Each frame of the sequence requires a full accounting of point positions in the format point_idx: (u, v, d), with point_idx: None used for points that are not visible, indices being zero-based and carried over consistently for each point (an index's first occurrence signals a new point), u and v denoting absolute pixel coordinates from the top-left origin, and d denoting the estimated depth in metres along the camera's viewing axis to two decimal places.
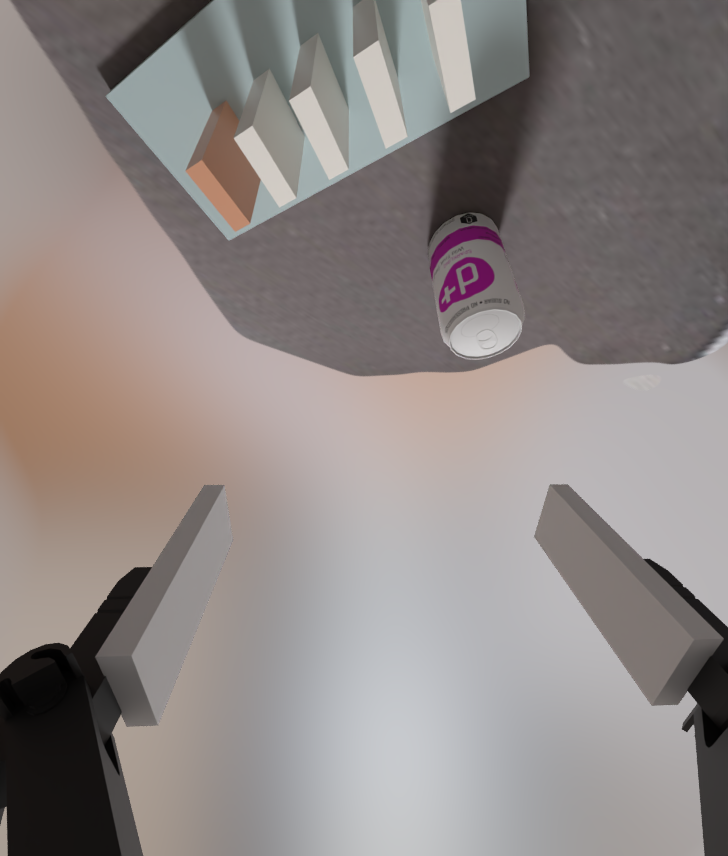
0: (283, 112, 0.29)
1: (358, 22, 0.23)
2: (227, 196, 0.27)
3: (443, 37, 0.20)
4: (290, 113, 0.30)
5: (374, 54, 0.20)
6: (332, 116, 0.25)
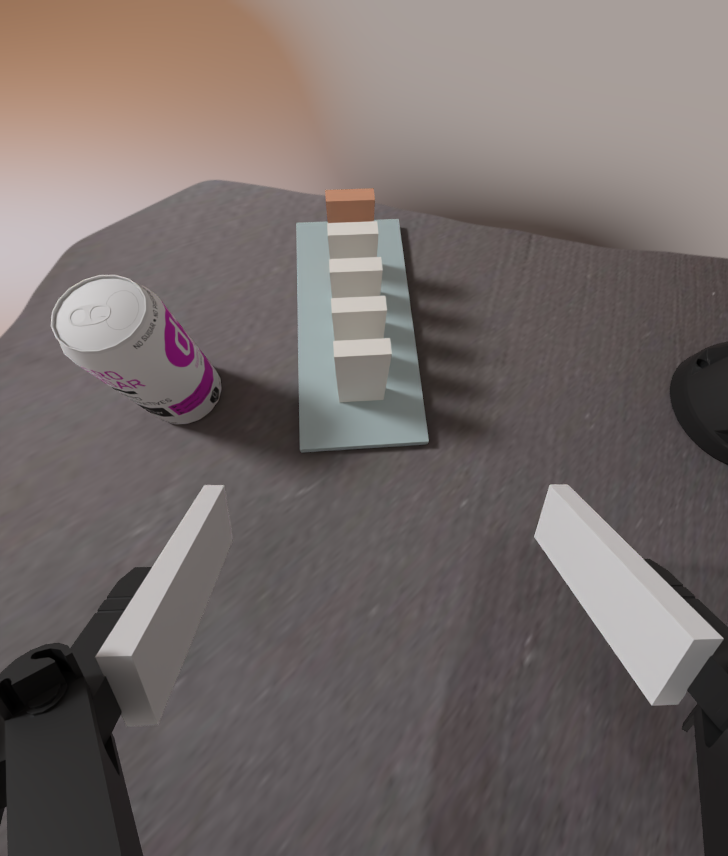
0: None
1: None
2: (349, 199, 0.36)
3: (373, 342, 0.31)
4: None
5: (381, 306, 0.32)
6: (355, 288, 0.36)
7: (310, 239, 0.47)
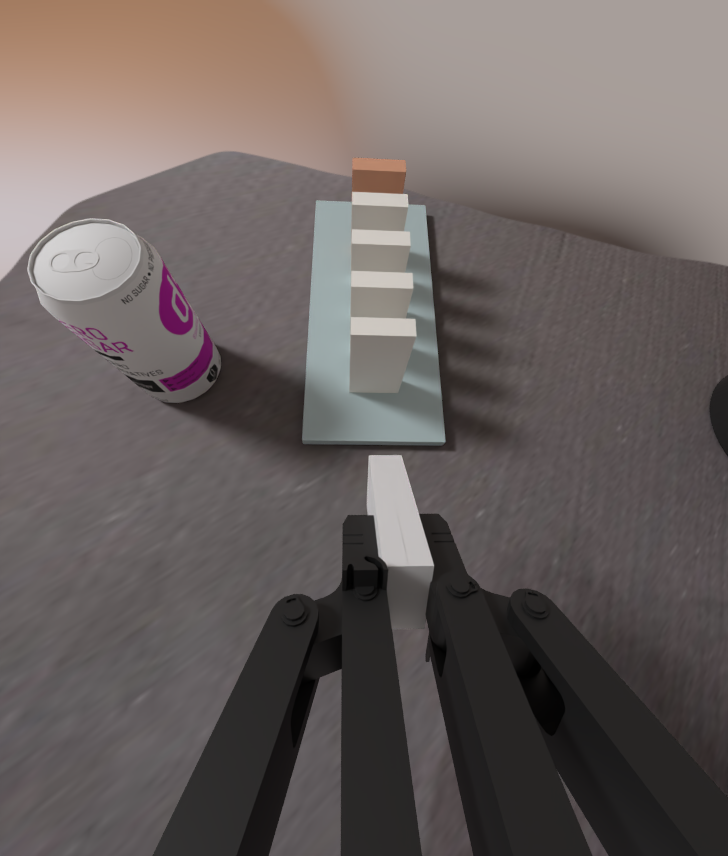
0: None
1: None
2: (378, 169, 0.33)
3: (396, 322, 0.27)
4: None
5: (407, 284, 0.29)
6: (378, 266, 0.32)
7: (330, 218, 0.44)
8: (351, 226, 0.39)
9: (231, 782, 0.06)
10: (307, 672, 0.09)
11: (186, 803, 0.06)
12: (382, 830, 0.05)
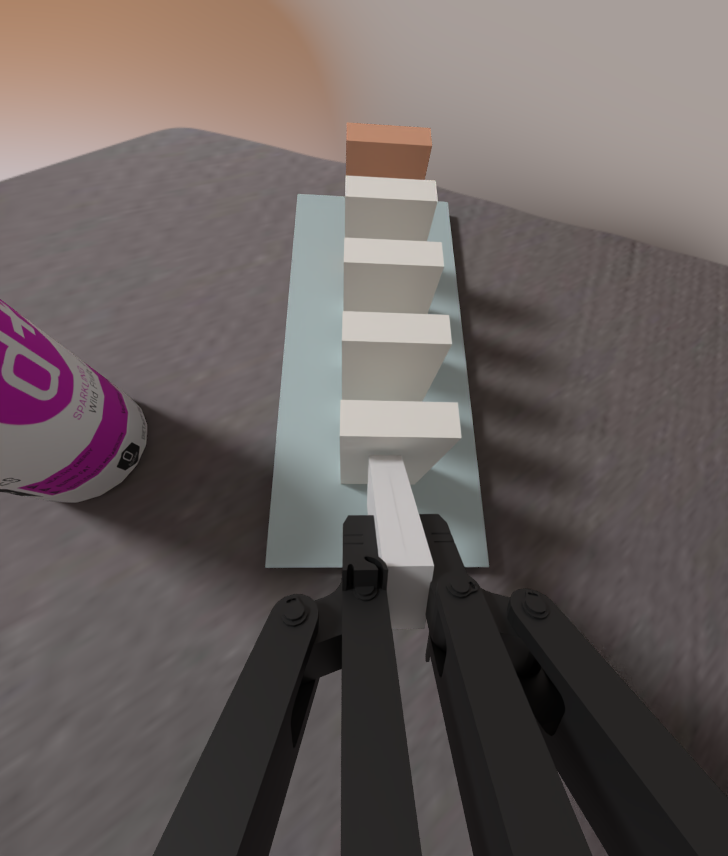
0: None
1: None
2: (387, 141, 0.21)
3: (424, 410, 0.15)
4: None
5: (441, 335, 0.16)
6: (387, 297, 0.20)
7: (316, 218, 0.32)
8: None
9: (231, 782, 0.06)
10: (307, 672, 0.09)
11: (186, 803, 0.06)
12: (382, 830, 0.05)
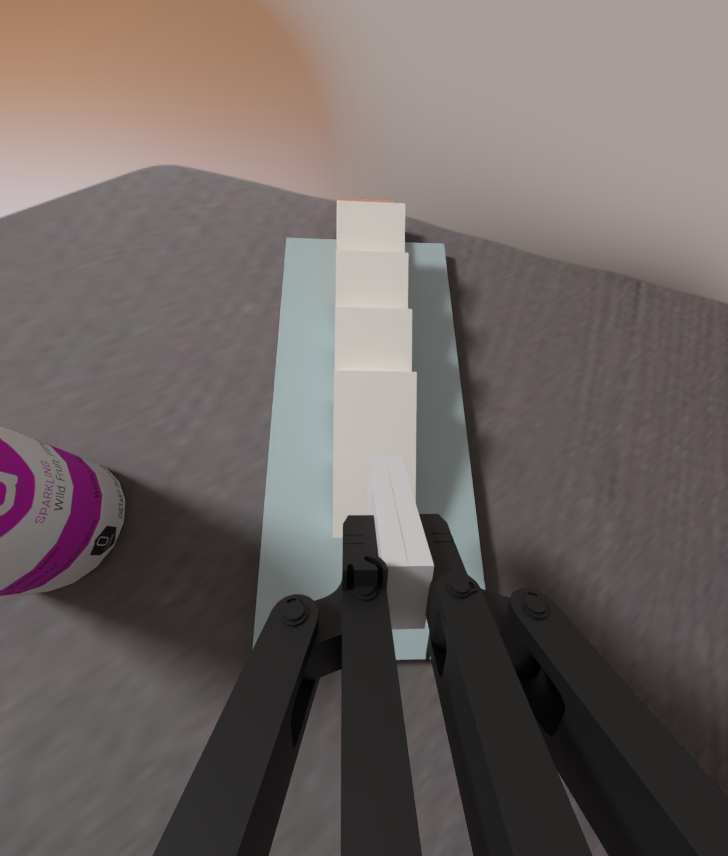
0: None
1: None
2: (365, 200, 0.31)
3: None
4: None
5: None
6: (371, 285, 0.24)
7: (306, 265, 0.30)
8: None
9: (231, 782, 0.06)
10: (307, 672, 0.09)
11: (186, 803, 0.06)
12: (382, 831, 0.05)
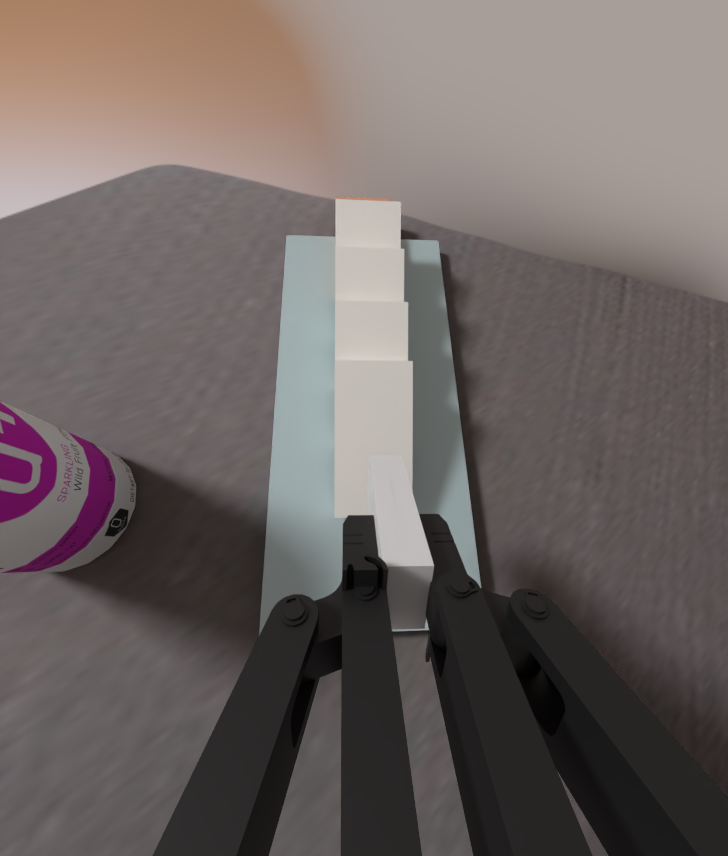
0: None
1: None
2: (362, 199, 0.32)
3: None
4: None
5: None
6: (369, 280, 0.26)
7: (306, 261, 0.31)
8: None
9: (231, 782, 0.06)
10: (307, 672, 0.09)
11: (186, 803, 0.06)
12: (382, 831, 0.05)
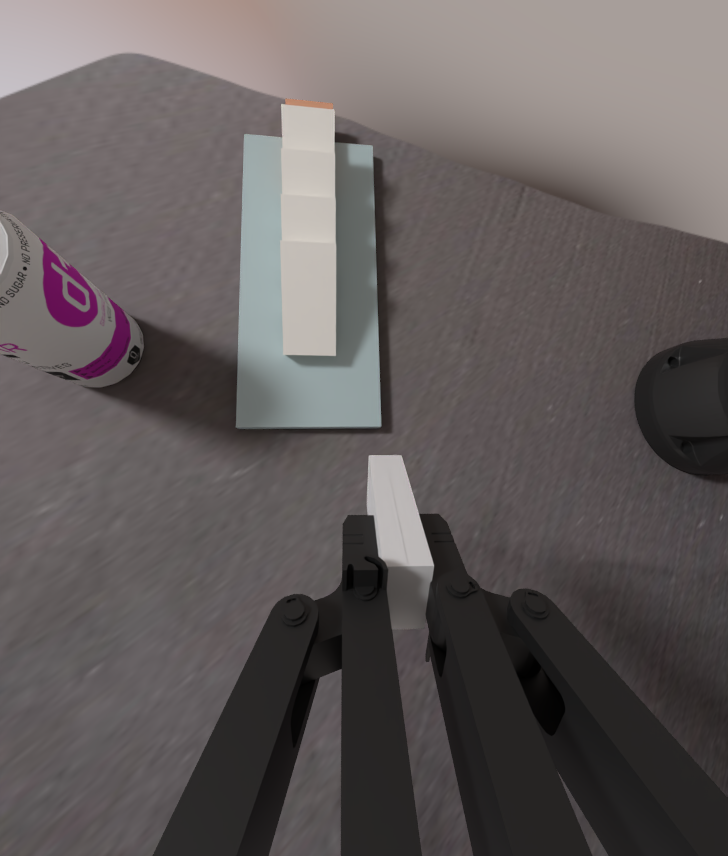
0: None
1: None
2: (308, 102, 0.38)
3: None
4: None
5: None
6: (308, 178, 0.34)
7: (261, 159, 0.38)
8: None
9: (231, 782, 0.06)
10: (307, 672, 0.09)
11: (186, 803, 0.06)
12: (382, 831, 0.05)
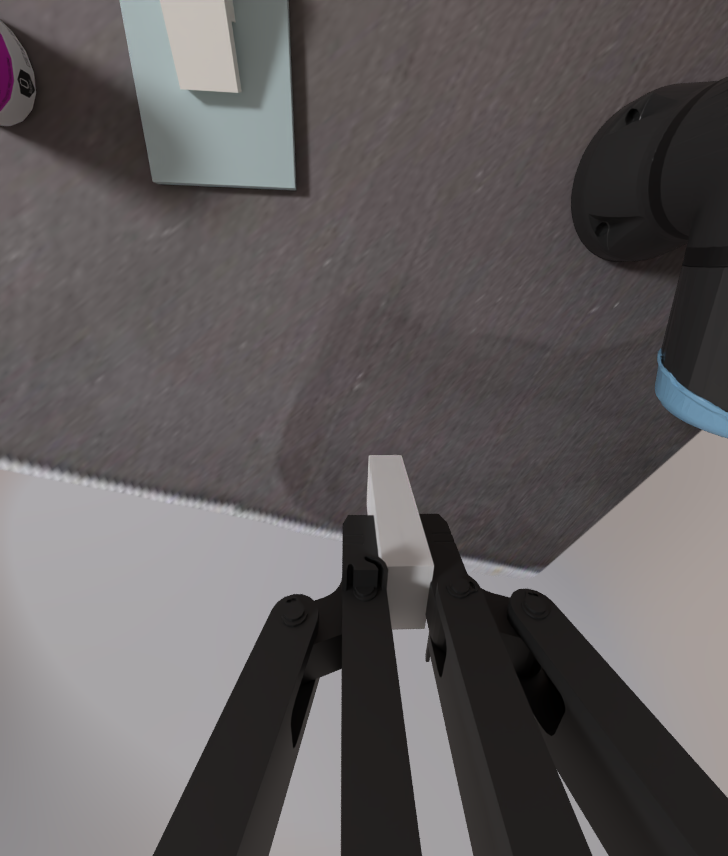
0: None
1: None
2: None
3: None
4: None
5: None
6: None
7: None
8: None
9: (231, 782, 0.06)
10: (307, 672, 0.09)
11: (186, 803, 0.06)
12: (382, 831, 0.05)
